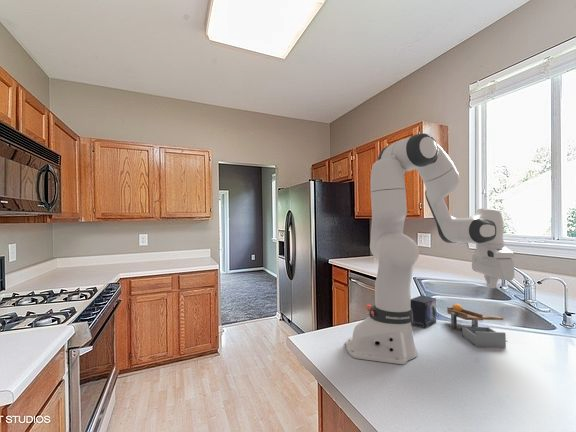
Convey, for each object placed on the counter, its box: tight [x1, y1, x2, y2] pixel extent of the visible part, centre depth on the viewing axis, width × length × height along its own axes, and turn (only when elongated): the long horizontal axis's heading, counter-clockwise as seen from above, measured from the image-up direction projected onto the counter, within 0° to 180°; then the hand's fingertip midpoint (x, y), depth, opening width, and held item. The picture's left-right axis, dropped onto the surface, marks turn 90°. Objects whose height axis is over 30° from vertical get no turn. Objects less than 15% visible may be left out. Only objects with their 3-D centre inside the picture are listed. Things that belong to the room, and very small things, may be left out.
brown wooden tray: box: [446, 307, 504, 321], centre depth 110 cm, size 14×15×2 cm
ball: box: [451, 303, 463, 312], centre depth 116 cm, size 4×4×4 cm
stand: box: [448, 312, 479, 331], centre depth 110 cm, size 10×4×6 cm, turn 84°
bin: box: [461, 326, 507, 349], centre depth 98 cm, size 9×9×5 cm
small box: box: [411, 294, 437, 329], centre depth 116 cm, size 11×6×10 cm, turn 130°
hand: (491, 287), depth 106 cm, fingers closed
